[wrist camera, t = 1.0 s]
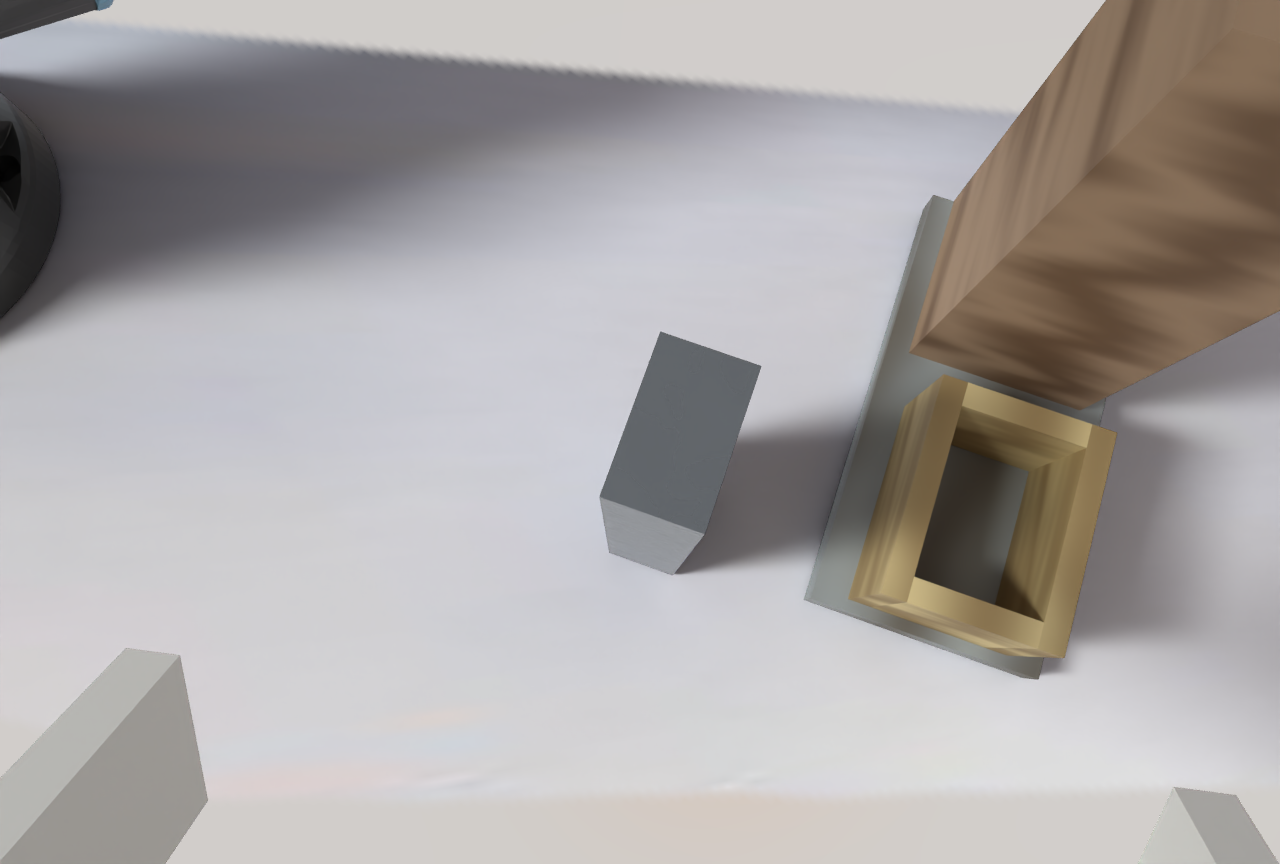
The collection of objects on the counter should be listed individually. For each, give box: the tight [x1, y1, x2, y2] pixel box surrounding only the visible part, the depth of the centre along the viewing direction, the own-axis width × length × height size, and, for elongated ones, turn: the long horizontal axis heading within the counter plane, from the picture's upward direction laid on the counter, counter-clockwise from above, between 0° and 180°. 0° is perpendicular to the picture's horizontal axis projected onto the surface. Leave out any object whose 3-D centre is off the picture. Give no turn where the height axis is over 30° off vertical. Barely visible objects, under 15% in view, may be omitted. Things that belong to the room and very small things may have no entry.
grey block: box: [600, 332, 761, 575], centre depth 32 cm, size 3×5×16 cm, turn 161°
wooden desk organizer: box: [804, 0, 1280, 679], centre depth 30 cm, size 10×20×24 cm, turn 160°
